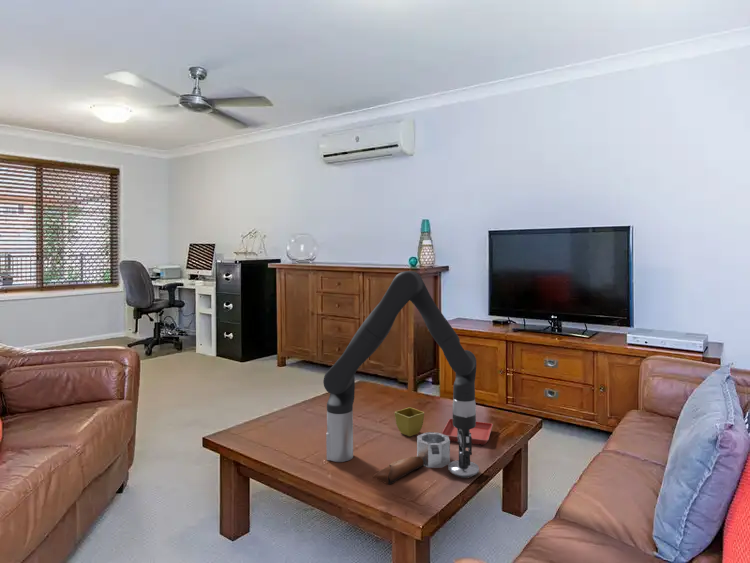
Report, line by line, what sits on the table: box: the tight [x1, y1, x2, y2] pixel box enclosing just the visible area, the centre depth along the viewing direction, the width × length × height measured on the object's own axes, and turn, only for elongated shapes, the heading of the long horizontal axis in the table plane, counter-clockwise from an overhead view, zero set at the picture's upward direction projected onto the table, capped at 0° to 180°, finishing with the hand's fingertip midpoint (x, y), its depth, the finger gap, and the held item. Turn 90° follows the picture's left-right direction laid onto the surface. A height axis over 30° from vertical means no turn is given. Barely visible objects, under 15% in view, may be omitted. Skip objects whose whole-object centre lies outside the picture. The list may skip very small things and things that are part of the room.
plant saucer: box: [441, 418, 494, 446], centre depth 199 cm, size 18×18×3 cm
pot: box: [416, 431, 451, 469], centre depth 176 cm, size 11×17×8 cm, turn 179°
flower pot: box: [394, 406, 425, 437], centre depth 201 cm, size 9×9×9 cm
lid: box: [447, 450, 480, 479], centre depth 166 cm, size 10×10×8 cm
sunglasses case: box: [372, 456, 424, 486], centre depth 167 cm, size 18×7×7 cm
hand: (464, 459), depth 166 cm, fingers open, 8 cm apart
